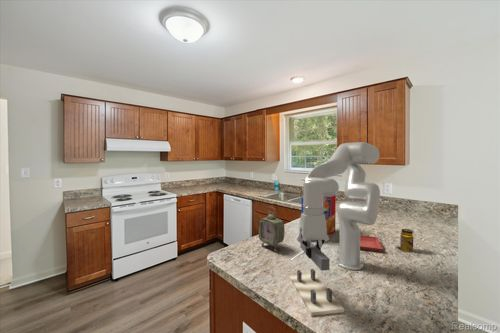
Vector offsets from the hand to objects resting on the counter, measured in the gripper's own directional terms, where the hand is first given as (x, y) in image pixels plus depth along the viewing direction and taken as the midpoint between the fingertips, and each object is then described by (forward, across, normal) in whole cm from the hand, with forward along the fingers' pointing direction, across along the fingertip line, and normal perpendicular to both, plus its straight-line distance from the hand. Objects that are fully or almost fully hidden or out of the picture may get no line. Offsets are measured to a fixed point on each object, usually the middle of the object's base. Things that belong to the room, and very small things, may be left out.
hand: (313, 256), depth 85 cm
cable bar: (0, 0, 0) cm, 0 cm away
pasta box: (+15, -31, -59) cm, 68 cm away
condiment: (+15, -69, -29) cm, 76 cm away
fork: (+16, -8, -34) cm, 38 cm away
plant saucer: (+15, -50, -39) cm, 65 cm away
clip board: (+15, 0, 0) cm, 15 cm away
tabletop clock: (+15, +6, -45) cm, 48 cm away
